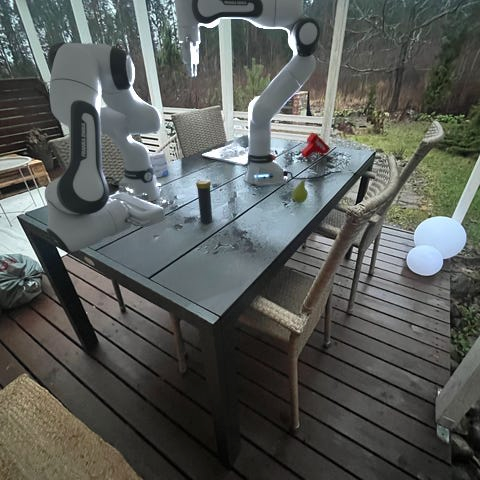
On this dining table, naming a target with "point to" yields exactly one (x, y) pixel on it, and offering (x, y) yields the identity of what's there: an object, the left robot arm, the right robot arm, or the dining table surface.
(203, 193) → the jar
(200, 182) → the lid
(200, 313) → the dining table surface
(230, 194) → the dining table surface
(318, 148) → the toy gun
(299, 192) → the fruit
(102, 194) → the left robot arm
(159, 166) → the ink box
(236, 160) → the relief map
